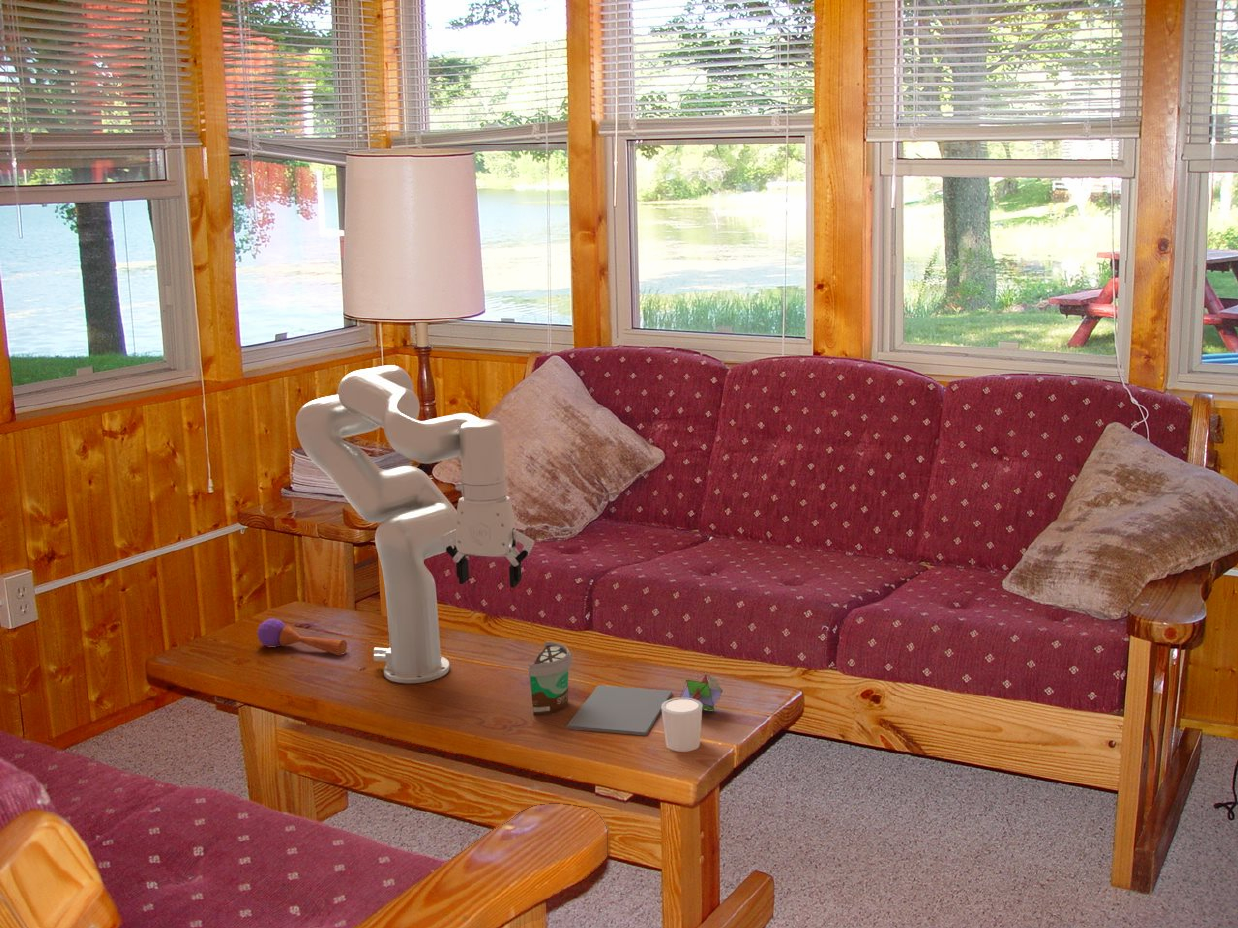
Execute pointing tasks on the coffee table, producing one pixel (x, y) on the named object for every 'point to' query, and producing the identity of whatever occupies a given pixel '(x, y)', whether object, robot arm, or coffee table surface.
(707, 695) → the geometric puzzle
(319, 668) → the coffee table surface
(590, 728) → the mat
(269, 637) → the kendama
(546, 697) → the food container
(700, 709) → the shot glass
